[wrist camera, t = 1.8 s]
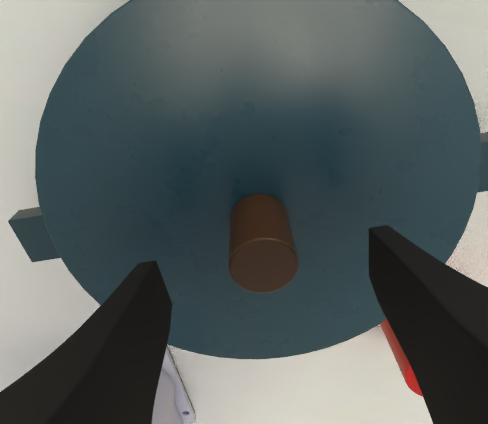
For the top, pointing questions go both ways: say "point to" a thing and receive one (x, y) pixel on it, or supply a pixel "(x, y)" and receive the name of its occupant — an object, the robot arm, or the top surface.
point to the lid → (256, 162)
